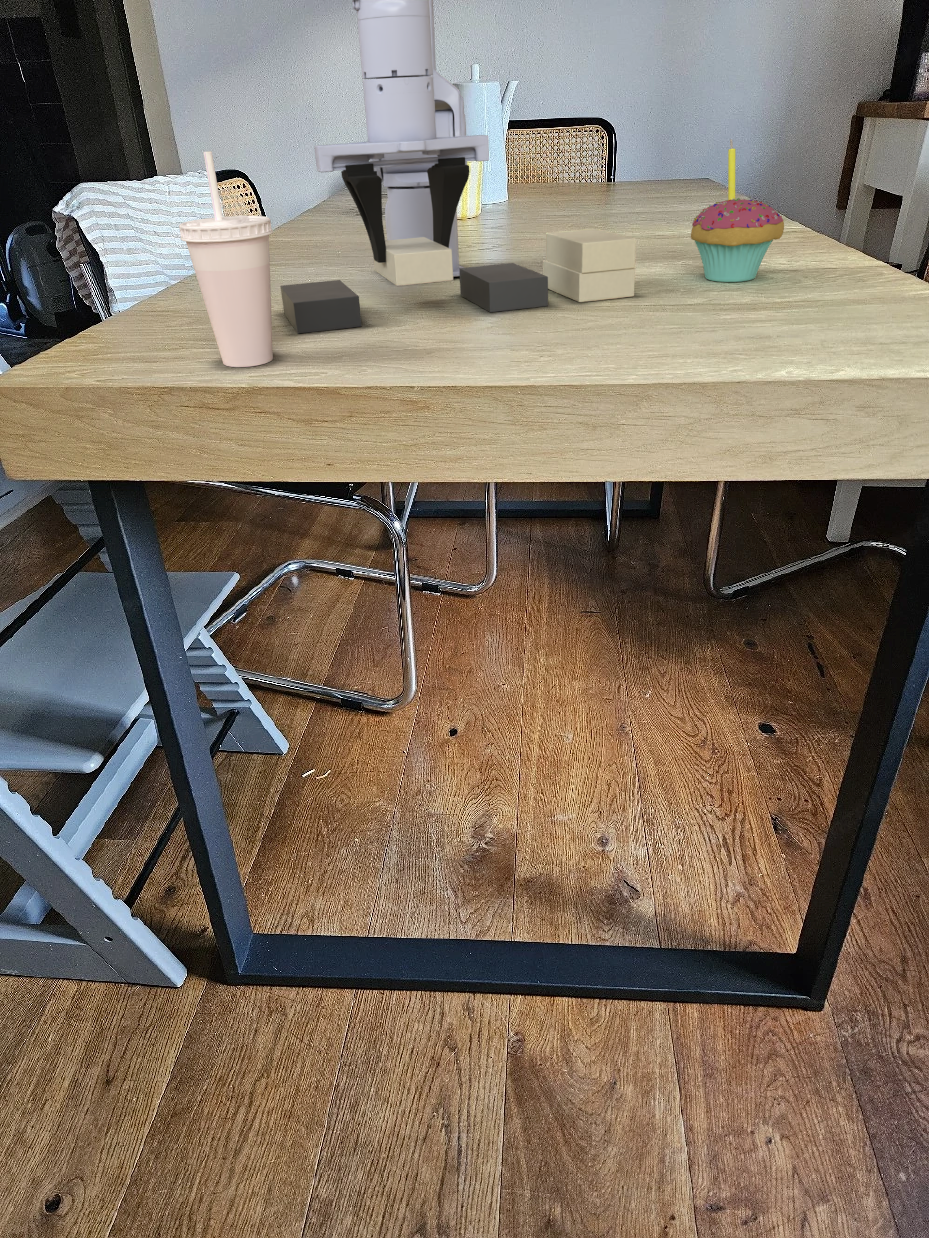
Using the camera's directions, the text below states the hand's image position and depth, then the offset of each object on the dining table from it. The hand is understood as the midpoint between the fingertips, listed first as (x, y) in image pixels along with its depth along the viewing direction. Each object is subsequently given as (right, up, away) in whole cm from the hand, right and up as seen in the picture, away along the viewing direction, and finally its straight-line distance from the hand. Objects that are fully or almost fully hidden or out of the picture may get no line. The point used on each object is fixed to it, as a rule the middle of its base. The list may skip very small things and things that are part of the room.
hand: (410, 258), depth 78 cm
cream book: (0, -1, +1) cm, 1 cm away
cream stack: (+16, -1, +6) cm, 18 cm away
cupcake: (+31, +1, +9) cm, 32 cm away
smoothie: (-12, -13, -11) cm, 21 cm away
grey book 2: (+8, -2, +4) cm, 10 cm away
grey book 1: (-8, -5, 0) cm, 10 cm away
